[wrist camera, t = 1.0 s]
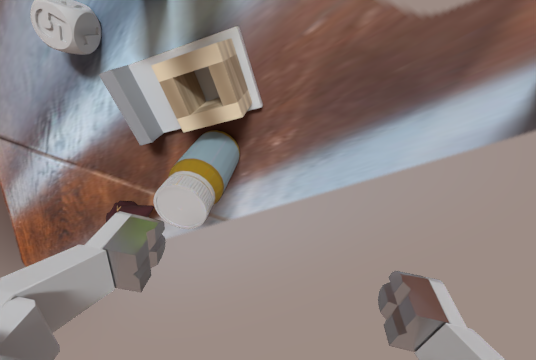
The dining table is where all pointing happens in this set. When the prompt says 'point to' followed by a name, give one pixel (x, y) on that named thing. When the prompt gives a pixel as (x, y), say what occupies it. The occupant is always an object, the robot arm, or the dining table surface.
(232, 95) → the block
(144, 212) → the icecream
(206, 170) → the bottle
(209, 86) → the grey l-shaped tray
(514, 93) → the dining table surface
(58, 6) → the die
